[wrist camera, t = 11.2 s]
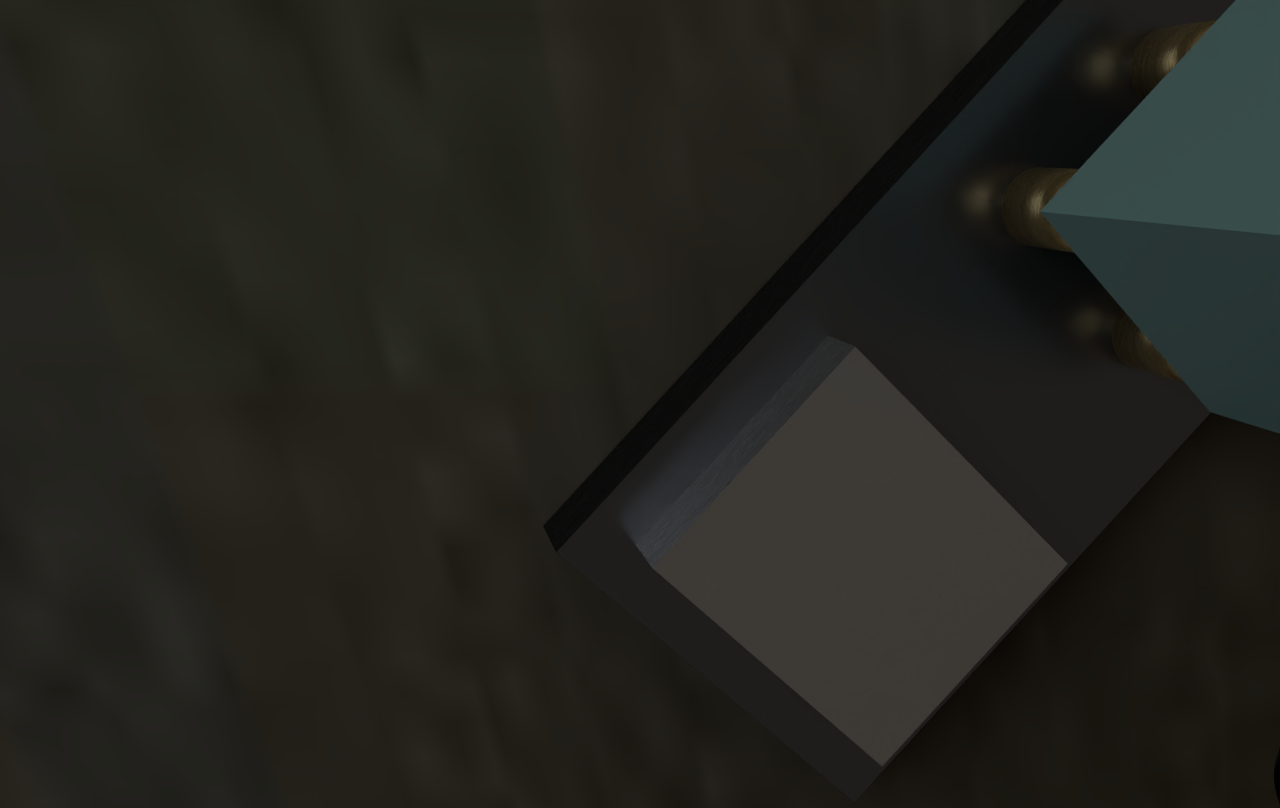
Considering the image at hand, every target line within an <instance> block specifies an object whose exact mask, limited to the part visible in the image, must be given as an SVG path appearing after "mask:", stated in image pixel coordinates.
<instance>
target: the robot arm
mask: <svg viewBox="0 0 1280 808" xmlns="http://www.w3.org/2000/svg"><path fill="white" fill-rule="evenodd" d="M1274 782H1275V789H1276V793H1277V797H1278V800H1279V803H1280V748H1279V752H1278V756H1277V759H1276V763H1275V768H1274Z"/></svg>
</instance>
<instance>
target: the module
mask: <svg viewBox="0 0 1280 808" xmlns="http://www.w3.org/2000/svg"><path fill="white" fill-rule="evenodd" d="M1040 213H1041V214H1042V215H1043V216H1044V217H1045V218H1046V220H1047V221H1048V222H1049V223H1050V224H1051V225H1052V227H1053V228H1054V229H1055V230H1056V231H1057V233H1058V234H1059V235H1060V236H1061V237H1062V238H1063V240H1064V241H1065V242H1066V243H1067V244H1068V245H1069V247H1070V248H1071V249H1072V250H1073V251H1074V253H1075V254H1076V255H1077V256H1078V257H1079V258H1080V260H1081V261H1082V262H1083V263H1084V264H1085V265H1086V267H1087V268H1088V269H1089V270H1090V271H1091V273H1092V274H1093V275H1094V276H1095V277H1096V278H1097V280H1098V281H1099V282H1100V283H1101V284H1102V286H1103V287H1104V288H1105V289H1106V290H1107V291H1108V293H1109V294H1110V295H1111V296H1112V297H1113V298H1114V300H1115V301H1116V302H1117V303H1118V304H1119V306H1120V307H1121V308H1122V309H1123V310H1124V311H1125V313H1126V314H1127V315H1128V316H1129V317H1130V318H1131V320H1132V321H1133V322H1134V323H1135V324H1136V326H1137V327H1138V328H1139V329H1140V330H1141V331H1142V333H1143V334H1144V335H1145V336H1146V337H1147V338H1148V340H1149V341H1150V342H1151V343H1152V344H1153V346H1154V347H1155V348H1156V349H1157V350H1158V351H1159V353H1160V354H1161V355H1162V356H1163V357H1164V358H1165V360H1166V361H1167V362H1168V363H1169V364H1170V366H1171V367H1172V368H1173V369H1174V370H1175V371H1176V373H1177V374H1178V375H1179V376H1180V377H1181V379H1182V380H1183V381H1184V382H1185V383H1186V384H1187V386H1188V387H1189V388H1190V389H1191V390H1192V391H1193V393H1194V394H1195V395H1196V396H1197V397H1198V399H1199V400H1200V401H1201V402H1202V403H1203V404H1204V406H1205V407H1206V408H1207V409H1208V410H1209V411H1210V412H1212V413H1215V414H1218V415H1221V416H1225V417H1228V418H1231V419H1234V420H1237V421H1241V422H1244V423H1247V424H1250V425H1254V426H1257V427H1260V428H1263V429H1266V430H1270V431H1273V432H1276V433H1279V434H1280V0H1235V2H1234V3H1233V4H1232V5H1231V6H1230V7H1229V8H1228V9H1227V10H1226V11H1225V12H1224V13H1223V14H1222V16H1221V17H1220V18H1219V19H1218V20H1217V21H1216V22H1215V23H1214V24H1213V25H1212V26H1211V27H1210V29H1209V30H1208V31H1207V32H1206V33H1205V34H1204V35H1203V36H1202V37H1201V38H1200V39H1199V40H1198V41H1197V43H1196V44H1195V45H1194V46H1193V47H1192V48H1191V49H1190V50H1189V51H1188V52H1187V53H1186V54H1185V56H1184V57H1183V58H1182V59H1181V60H1180V61H1179V62H1178V63H1177V64H1176V65H1175V66H1174V67H1173V68H1172V70H1171V71H1170V72H1169V73H1168V74H1167V75H1166V76H1165V77H1164V78H1163V79H1162V80H1161V81H1160V82H1159V84H1158V85H1157V86H1156V87H1155V88H1154V89H1153V90H1152V91H1151V92H1150V93H1149V94H1148V95H1147V97H1146V98H1145V99H1144V100H1143V101H1142V102H1141V103H1140V104H1139V105H1138V106H1137V107H1136V108H1135V109H1134V111H1133V112H1132V113H1131V114H1130V115H1129V116H1128V117H1127V118H1126V119H1125V120H1124V121H1123V122H1122V123H1121V125H1120V126H1119V127H1118V128H1117V129H1116V130H1115V131H1114V132H1113V133H1112V134H1111V135H1110V136H1109V138H1108V139H1107V140H1106V141H1105V142H1104V143H1103V144H1102V145H1101V146H1100V147H1099V148H1098V149H1097V150H1096V152H1095V153H1094V154H1093V155H1092V156H1091V157H1090V158H1089V159H1088V160H1087V161H1086V162H1085V163H1084V165H1083V166H1082V167H1081V168H1080V169H1079V170H1078V171H1077V172H1076V173H1075V174H1074V175H1073V176H1072V177H1071V179H1070V180H1069V181H1068V182H1067V183H1066V184H1065V185H1064V186H1063V187H1062V188H1061V189H1060V190H1059V191H1058V193H1057V194H1056V195H1055V196H1054V197H1053V198H1052V199H1051V200H1050V201H1049V202H1048V203H1047V204H1046V206H1045V207H1044V208H1043V209H1042V210H1041V211H1040Z"/></svg>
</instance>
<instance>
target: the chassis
mask: <svg viewBox="0 0 1280 808" xmlns="http://www.w3.org/2000/svg"><path fill="white" fill-rule="evenodd" d="M1234 2H1235V0H1026V1H1025V2H1024V3H1023V4H1022V5H1021V6H1020V7H1019V8H1018V9H1017V11H1016V12H1015V13H1014V14H1013V15H1012V16H1011V17H1010V18H1009V19H1008V20H1007V21H1006V23H1005V24H1004V25H1003V26H1002V27H1001V28H1000V29H999V30H998V31H997V32H996V33H995V35H994V36H993V37H992V38H991V39H990V40H989V41H988V42H987V43H986V44H985V45H984V47H983V48H982V49H981V50H980V51H979V52H978V53H977V54H976V55H975V56H974V57H973V58H972V60H971V61H970V62H969V63H968V64H967V65H966V66H965V67H964V68H963V69H962V70H961V72H960V73H959V74H958V75H957V76H956V77H955V78H954V79H953V80H952V81H951V82H950V84H949V85H948V86H947V87H946V88H945V89H944V90H943V91H942V92H941V93H940V94H939V96H938V97H937V98H936V99H935V100H934V101H933V102H932V103H931V104H930V105H929V106H928V108H927V109H926V110H925V111H924V112H923V113H922V114H921V115H920V116H919V117H918V118H917V119H916V121H915V122H914V123H913V124H912V125H911V126H910V127H909V128H908V129H907V130H906V131H905V133H904V134H903V135H902V136H901V137H900V138H899V139H898V140H897V141H896V142H895V143H894V145H893V146H892V147H891V148H890V149H889V150H888V151H887V152H886V153H885V154H884V155H883V157H882V158H881V159H880V160H879V161H878V162H877V163H876V164H875V165H874V166H873V167H872V169H871V170H870V171H869V172H868V173H867V174H866V175H865V176H864V177H863V178H862V179H861V180H860V182H859V183H858V184H857V185H856V186H855V187H854V188H853V189H852V190H851V191H850V192H849V194H848V195H847V196H846V197H845V198H844V199H843V200H842V201H841V202H840V203H839V204H838V206H837V207H836V208H835V209H834V210H833V211H832V212H831V213H830V214H829V215H828V216H827V218H826V219H825V220H824V221H823V222H822V223H821V224H820V225H819V226H818V227H817V228H816V230H815V231H814V232H813V233H812V234H811V235H810V236H809V237H808V238H807V239H806V240H805V242H804V243H803V244H802V245H801V246H800V247H799V248H798V249H797V250H796V251H795V252H794V253H793V255H792V256H791V257H790V258H789V259H788V260H787V261H786V262H785V263H784V264H783V265H782V267H781V268H780V269H779V270H778V271H777V272H776V273H775V274H774V275H773V276H772V277H771V279H770V280H769V281H768V282H767V283H766V284H765V285H764V286H763V287H762V288H761V289H760V291H759V292H758V293H757V294H756V295H755V296H754V297H753V298H752V299H751V300H750V301H749V303H748V304H747V305H746V306H745V307H744V308H743V309H742V310H741V311H740V312H739V313H738V314H737V316H736V317H735V318H734V319H733V320H732V321H731V322H730V323H729V324H728V325H727V326H726V328H725V329H724V330H723V331H722V332H721V333H720V334H719V335H718V336H717V337H716V338H715V340H714V341H713V342H712V343H711V344H710V345H709V346H708V347H707V348H706V349H705V350H704V352H703V353H702V354H701V355H700V356H699V357H698V358H697V359H696V360H695V361H694V362H693V364H692V365H691V366H690V367H689V368H688V369H687V370H686V371H685V372H684V373H683V374H682V375H681V377H680V378H679V379H678V380H677V381H676V382H675V383H674V384H673V385H672V386H671V387H670V389H669V390H668V391H667V392H666V393H665V394H664V395H663V396H662V397H661V398H660V399H659V401H658V402H657V403H656V404H655V405H654V406H653V407H652V408H651V409H650V410H649V411H648V413H647V414H646V415H645V416H644V417H643V418H642V419H641V420H640V421H639V422H638V423H637V425H636V426H635V427H634V428H633V429H632V430H631V431H630V432H629V433H628V434H627V435H626V436H625V438H624V439H623V440H622V441H621V442H620V443H619V444H618V445H617V446H616V447H615V448H614V450H613V451H612V452H611V453H610V454H609V455H608V456H607V457H606V458H605V459H604V460H603V462H602V463H601V464H600V465H599V466H598V467H597V468H596V469H595V470H594V471H593V472H592V474H591V475H590V476H589V477H588V478H587V479H586V480H585V481H584V482H583V483H582V484H581V486H580V487H579V488H578V489H577V490H576V491H575V492H574V493H573V494H572V495H571V496H570V498H569V499H568V500H567V501H566V502H565V503H564V504H563V505H562V506H561V507H560V508H559V509H558V511H557V512H556V513H555V514H554V515H553V516H552V517H551V518H550V519H549V520H548V521H547V523H546V524H545V525H544V526H543V527H544V529H545V531H546V533H547V535H548V537H549V539H550V541H551V543H552V545H553V547H554V549H555V551H556V553H558V554H559V555H560V556H561V557H562V558H564V559H565V560H566V561H567V562H568V563H570V564H571V565H572V566H573V567H574V568H576V569H577V570H578V571H579V572H580V573H581V574H583V575H584V576H585V577H586V578H587V579H589V580H590V581H591V582H592V583H593V584H595V585H596V586H597V587H598V588H599V589H601V590H602V591H603V592H604V593H605V594H606V595H608V596H609V597H610V598H611V599H612V600H614V601H615V602H616V603H617V604H618V605H620V606H621V607H622V608H623V609H624V610H626V611H627V612H628V613H629V614H630V615H632V616H633V617H634V618H635V619H636V620H637V621H639V622H640V623H641V624H642V625H643V626H645V627H646V628H647V629H648V630H649V631H651V632H652V633H653V634H654V635H655V636H657V637H658V638H659V639H660V640H661V641H662V642H664V643H665V644H666V645H667V646H668V647H670V648H671V649H672V650H673V651H674V652H676V653H677V654H678V655H679V656H680V657H682V658H683V659H684V660H685V661H686V662H688V663H689V664H690V665H691V666H692V667H693V668H695V669H696V670H697V671H698V672H699V673H701V674H702V675H703V676H704V677H705V678H707V679H708V680H709V681H710V682H711V683H713V684H714V685H715V686H716V687H717V688H718V689H720V690H721V691H722V692H723V693H724V694H726V695H727V696H728V697H729V698H730V699H732V700H733V701H734V702H735V703H736V704H738V705H739V706H740V707H741V708H742V709H743V710H745V711H746V712H747V713H748V714H749V715H751V716H752V717H753V718H754V719H755V720H757V721H758V722H759V723H760V724H761V725H763V726H764V727H765V728H766V729H767V730H769V731H770V732H771V733H772V734H773V735H774V736H776V737H777V738H778V739H779V740H780V741H782V742H783V743H784V744H785V745H786V746H788V747H789V748H790V749H791V750H792V751H794V752H795V753H796V754H797V755H798V756H799V757H801V758H802V759H803V760H804V761H805V762H807V763H808V764H809V765H810V766H811V767H813V768H814V769H815V770H816V771H817V772H819V773H820V774H821V775H822V776H823V777H825V778H826V779H827V780H828V781H829V782H830V783H832V784H833V785H834V786H835V787H836V788H838V789H839V790H840V791H841V792H842V793H844V794H845V795H846V796H847V797H848V798H850V799H851V800H852V801H853V802H855V801H856V800H857V798H858V797H859V796H860V795H861V794H862V793H863V792H864V791H865V790H866V789H867V788H868V786H869V785H870V784H871V783H872V782H873V781H874V780H875V779H876V778H877V777H878V775H879V774H880V773H881V772H882V771H883V770H884V769H885V768H886V767H887V766H888V765H889V763H890V762H891V761H892V760H893V759H894V758H895V757H896V756H897V755H898V754H899V753H900V751H901V750H902V749H903V748H904V747H905V746H906V745H907V744H908V743H909V742H910V741H911V739H912V738H913V737H914V736H915V735H916V734H917V733H918V732H919V731H920V730H921V729H922V727H923V726H924V725H925V724H926V723H927V722H928V721H929V720H930V719H931V718H932V717H933V715H934V714H935V713H936V712H937V711H938V710H939V709H940V708H941V707H942V706H943V705H944V703H945V702H946V701H947V700H948V699H949V698H950V697H951V696H952V695H953V694H954V693H955V691H956V690H957V689H958V688H959V687H960V686H961V685H962V684H963V683H964V682H965V680H966V679H967V678H968V677H969V676H970V675H971V674H972V673H973V672H974V671H975V670H976V668H977V667H978V666H979V665H980V664H981V663H982V662H983V661H984V660H985V659H986V658H987V656H988V655H989V654H990V653H991V652H992V651H993V650H994V649H995V648H996V647H997V646H998V644H999V643H1000V642H1001V641H1002V640H1003V639H1004V638H1005V637H1006V636H1007V635H1008V634H1009V632H1010V631H1011V630H1012V629H1013V628H1014V627H1015V626H1016V625H1017V624H1018V623H1019V622H1020V620H1021V619H1022V618H1023V617H1024V616H1025V615H1026V614H1027V613H1028V612H1029V611H1030V610H1031V608H1032V607H1033V606H1034V605H1035V604H1036V603H1037V602H1038V601H1039V600H1040V599H1041V597H1042V596H1043V595H1044V594H1045V593H1046V592H1047V591H1048V590H1049V589H1050V588H1051V587H1052V585H1053V584H1054V583H1055V582H1056V581H1057V580H1058V579H1059V578H1060V577H1061V576H1062V575H1063V573H1064V572H1065V571H1066V570H1067V569H1068V568H1069V567H1070V566H1071V565H1072V564H1073V563H1074V561H1075V560H1076V559H1077V558H1078V557H1079V556H1080V555H1081V554H1082V553H1083V552H1084V551H1085V549H1086V548H1087V547H1088V546H1089V545H1090V544H1091V543H1092V542H1093V541H1094V540H1095V539H1096V537H1097V536H1098V535H1099V534H1100V533H1101V532H1102V531H1103V530H1104V529H1105V528H1106V527H1107V525H1108V524H1109V523H1110V522H1111V521H1112V520H1113V519H1114V518H1115V517H1116V516H1117V515H1118V513H1119V512H1120V511H1121V510H1122V509H1123V508H1124V507H1125V506H1126V505H1127V504H1128V502H1129V501H1130V500H1131V499H1132V498H1133V497H1134V496H1135V495H1136V494H1137V493H1138V492H1139V490H1140V489H1141V488H1142V487H1143V486H1144V485H1145V484H1146V483H1147V482H1148V481H1149V480H1150V478H1151V477H1152V476H1153V475H1154V474H1155V473H1156V472H1157V471H1158V470H1159V469H1160V468H1161V466H1162V465H1163V464H1164V463H1165V462H1166V461H1167V460H1168V459H1169V458H1170V457H1171V456H1172V454H1173V453H1174V452H1175V451H1176V450H1177V449H1178V448H1179V447H1180V446H1181V445H1182V444H1183V442H1184V441H1185V440H1186V439H1187V438H1188V437H1189V436H1190V435H1191V434H1192V433H1193V432H1194V430H1195V429H1196V428H1197V427H1198V426H1199V425H1200V424H1201V423H1202V422H1203V421H1204V420H1205V418H1206V417H1207V416H1208V415H1209V414H1210V413H1211V412H1210V411H1209V410H1208V409H1207V408H1206V407H1205V406H1204V404H1203V403H1202V402H1201V401H1200V400H1199V399H1198V397H1197V396H1196V395H1195V394H1194V393H1193V391H1192V390H1191V389H1190V388H1189V387H1188V386H1187V384H1186V383H1185V382H1184V381H1183V380H1182V379H1181V377H1180V376H1179V375H1178V374H1177V373H1176V371H1175V370H1174V369H1173V368H1172V367H1171V366H1170V364H1169V363H1168V362H1167V361H1166V360H1165V358H1164V357H1163V356H1162V355H1161V354H1160V353H1159V351H1158V350H1157V349H1156V348H1155V347H1154V346H1153V344H1152V343H1151V342H1150V341H1149V340H1148V338H1147V337H1146V336H1145V335H1144V334H1143V333H1142V331H1141V330H1140V329H1139V328H1138V327H1137V326H1136V324H1135V323H1134V322H1133V321H1132V320H1131V318H1130V317H1129V316H1128V315H1127V314H1126V313H1125V311H1124V310H1123V309H1122V308H1121V307H1120V306H1119V304H1118V303H1117V302H1116V301H1115V300H1114V298H1113V297H1112V296H1111V295H1110V294H1109V293H1108V291H1107V290H1106V289H1105V288H1104V287H1103V286H1102V284H1101V283H1100V282H1099V281H1098V280H1097V278H1096V277H1095V276H1094V275H1093V274H1092V273H1091V271H1090V270H1089V269H1088V268H1087V267H1086V265H1085V264H1084V263H1083V262H1082V261H1081V260H1080V258H1079V257H1078V256H1077V255H1076V254H1075V253H1074V251H1073V250H1072V249H1071V248H1070V247H1069V245H1068V244H1067V243H1066V242H1065V241H1064V240H1063V238H1062V237H1061V236H1060V235H1059V234H1058V233H1057V231H1056V230H1055V229H1054V228H1053V227H1052V225H1051V224H1050V223H1049V222H1048V221H1047V220H1046V218H1045V217H1044V216H1043V215H1042V214H1041V213H1040V211H1041V210H1042V209H1043V208H1044V207H1045V206H1046V204H1047V203H1048V202H1049V201H1050V200H1051V199H1052V198H1053V197H1054V196H1055V195H1056V194H1057V193H1058V191H1059V190H1060V189H1061V188H1062V187H1063V186H1064V185H1065V184H1066V183H1067V182H1068V181H1069V180H1070V179H1071V177H1072V176H1073V175H1074V174H1075V173H1076V172H1077V171H1078V170H1079V169H1080V168H1081V167H1082V166H1083V165H1084V163H1085V162H1086V161H1087V160H1088V159H1089V158H1090V157H1091V156H1092V155H1093V154H1094V153H1095V152H1096V150H1097V149H1098V148H1099V147H1100V146H1101V145H1102V144H1103V143H1104V142H1105V141H1106V140H1107V139H1108V138H1109V136H1110V135H1111V134H1112V133H1113V132H1114V131H1115V130H1116V129H1117V128H1118V127H1119V126H1120V125H1121V123H1122V122H1123V121H1124V120H1125V119H1126V118H1127V117H1128V116H1129V115H1130V114H1131V113H1132V112H1133V111H1134V109H1135V108H1136V107H1137V106H1138V105H1139V104H1140V103H1141V102H1142V101H1143V100H1144V99H1145V98H1146V97H1147V95H1148V94H1149V93H1150V92H1151V91H1152V90H1153V89H1154V88H1155V87H1156V86H1157V85H1158V84H1159V82H1160V81H1161V80H1162V79H1163V78H1164V77H1165V76H1166V75H1167V74H1168V73H1169V72H1170V71H1171V70H1172V68H1173V67H1174V66H1175V65H1176V64H1177V63H1178V62H1179V61H1180V60H1181V59H1182V58H1183V57H1184V56H1185V54H1186V53H1187V52H1188V51H1189V50H1190V49H1191V48H1192V47H1193V46H1194V45H1195V44H1196V43H1197V41H1198V40H1199V39H1200V38H1201V37H1202V36H1203V35H1204V34H1205V33H1206V32H1207V31H1208V30H1209V29H1210V27H1211V26H1212V25H1213V24H1214V23H1215V22H1216V21H1217V20H1218V19H1219V18H1220V17H1221V16H1222V14H1223V13H1224V12H1225V11H1226V10H1227V9H1228V8H1229V7H1230V6H1231V5H1232V4H1233V3H1234Z"/></svg>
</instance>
